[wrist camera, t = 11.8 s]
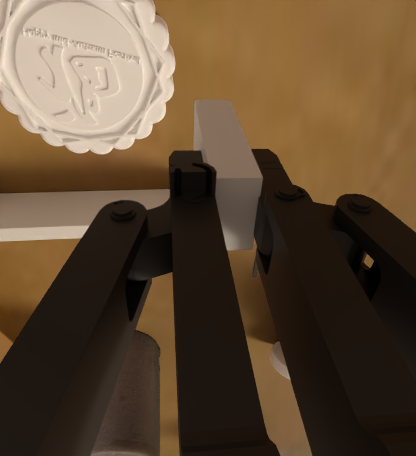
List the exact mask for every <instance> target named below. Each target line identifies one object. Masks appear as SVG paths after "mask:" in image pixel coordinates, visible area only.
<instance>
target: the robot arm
mask: <svg viewBox="0 0 416 456" xmlns="http://www.w3.org/2000/svg"><path fill="white" fill-rule="evenodd" d="M169 185H170V197H169V199H168V200H167V201H166V202H165V203H164V204H162V205H160V206H158V207H156V208H152V209H148V210H147V209H146V208H145V206H144V205H142V204H141V203H139V202H136V201H132V200H118V201H114V202H111V203H109V204H107V205H105V206H104V207H103V208H101V209H100V210H99V212H98V214H97V215H96V217H95V218H94V220H93V221H92V223H91V224H90V226H89V227H88V229H87V230H86V232H85V234H84V235H83V237H82V238H81V240H80V241H79V243H78V244H77V246H76V247H75V249H74V251H73V252H72V254H71V255H70V257H69V258H68V260H67V261H66V263H65V264H64V266H63V267H62V269H61V271H60V272H59V274H58V275H57V277H56V278H55V280H54V281H53V283H52V284H51V286H50V288H49V289H48V291H47V292H46V294H45V295H44V297H43V298H42V300H41V301H40V303H39V305H38V306H37V308H36V309H35V311H34V312H33V314H32V315H31V317H30V318H29V320H28V321H27V323H26V325H25V326H24V328H23V329H22V331H21V332H20V334H19V335H18V337H17V338H16V340H15V342H14V343H13V345H12V346H11V348H10V349H9V351H8V352H7V354H6V355H5V357H4V359H3V360H2V362H1V363H0V456H90V455H91V452H92V449H93V447H94V444H95V441H96V438H97V435H98V433H99V430H100V427H101V424H102V421H103V419H104V416H105V413H106V410H107V407H108V405H109V402H110V399H111V396H112V393H113V390H114V388H115V385H116V382H117V379H118V376H119V374H120V371H121V368H122V365H123V362H124V360H125V357H126V354H127V351H128V348H129V346H130V343H131V340H132V337H133V334H134V331H135V329H136V326H137V323H138V320H139V317H140V315H141V312H142V309H143V306H144V303H145V301H146V298H147V295H148V292H149V289H150V286H151V284H152V278H154V277H157V276H160V275H164V274H167V273H170V272H172V274H173V299H174V325H175V351H176V376H177V402H178V427H179V453H180V456H280V454H279V451H278V449H277V447H276V445H275V444H274V443H273V442H272V441H271V440H270V439H269V437H268V435H267V432H266V428H265V424H264V419H263V415H262V410H261V406H260V401H259V396H258V392H257V387H256V382H255V378H254V373H253V369H252V364H251V359H250V355H249V350H248V345H247V341H246V336H245V332H244V327H243V322H242V318H241V313H240V308H239V304H238V299H237V295H236V290H235V285H234V281H233V276H232V271H231V267H230V262H229V258H228V253H227V250H250V249H252V248H253V241H254V237H255V240H256V244H257V250H256V256H255V262H254V268H253V277H256V275H257V271H258V270H259V273H260V277H261V280H262V283H263V287H264V290H265V294H266V297H267V301H268V304H269V307H270V311H271V314H272V318H273V321H274V325H275V328H276V332H277V335H278V338H279V342H280V345H281V349H282V352H283V356H284V359H285V362H286V366H287V369H288V373H289V376H290V380H291V383H292V387H293V390H294V393H295V397H296V400H297V404H298V407H299V411H300V414H301V417H302V421H303V424H304V428H305V431H306V435H307V438H308V442H309V445H310V448H311V452H312V455H313V456H416V232H414V231H413V230H412V229H411V228H409V227H408V226H407V225H406V224H404V223H403V222H402V221H401V220H399V219H398V218H397V217H396V216H394V215H393V214H392V213H391V212H389V211H388V210H387V209H386V208H384V207H383V206H382V205H381V204H380V203H378V202H377V201H375V200H373V199H372V198H369V197H366V196H365V195H361V194H359V195H358V194H345V195H342V196H340V197H339V198H338V199H337V201H336V205H335V206H332V205H326V204H320V203H316V202H313V201H312V199H311V197H310V195H309V194H308V193H307V192H306V191H305V190H304V189H302V188H301V187H299V186H296V185H292V183H291V181H290V179H289V177H288V175H287V174H286V172H285V170H284V168H283V166H282V164H280V160H279V159H278V157H277V155H276V154H274V153H273V152H272V151H270V150H269V149H251V148H250V146H249V144H248V141H247V139H246V137H245V134H244V132H243V130H242V127H241V125H240V123H239V120H238V118H237V116H236V113H235V111H234V109H233V106H232V104H231V102H230V100H196V99H195V107H194V151H174V152H173V153H172V154H171V155H170V156H169ZM367 254H368V255H369V256H370V257H371V258H372V259H373V260H374V262H373V265H372V267H371V268H369V267H368V266H367V265H366V264H365V263H364V260H365V257H366V255H367Z"/></svg>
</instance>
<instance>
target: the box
mask: <svg viewBox="0 0 416 456" xmlns="http://www.w3.org/2000/svg"><path fill="white" fill-rule="evenodd" d="M169 197H170V189H150V190H113V191H76V192H38V193H1V194H0V241H21V240H45V239H69V238H82V237H83V235H84V234H85V232H86V230H87V229H88V227H89V226H90V224H91V223H92V221H93V220H94V218H95V217H96V215H97V214H98V212H99V210H100V209H101V208H103V207H104V206H105V205H107V204H109V203H111V202H114V201H118V200H132V201H136V202H139V203H141V204H142V205H144V206H145V208H146V209H147V210H148V209H152V208H156V207H158V206H160V205H162V204H164V203H165V202H166V201H167V200H168V199H169Z"/></svg>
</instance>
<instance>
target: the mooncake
mask: <svg viewBox="0 0 416 456" xmlns="http://www.w3.org/2000/svg"><path fill="white" fill-rule="evenodd" d="M174 70H175V58H174V52H173V49H172V47H171V45H170V44H169V34H168V27H167V24H166V22H165V21H164V19H163V18H162V17H160V16H159V15H157V14H155V5H154V2H153V0H0V101H1V103H2V105H3V106H4V107H5V109H7V110H8V111H9V112H11V113H13V114H16V115H18V119H19V122H20V123H21V125H22V126H23V127H24V128H25V129H26V130H28V131H30V132H32V133H40V134H41V136H42V138H43V139H44V140H45V141H46V142H47V143H48V144H50V145H53V146H63V145H65V146H66V147H67V148H68V149H69V150H70V151H72V152H75V153H85V152H87V151H88V150H91V151H92V152H94V153H96V154H106V153H109V152H110V151H111V150H112V149H113V148H116V149H127V148H129V147H130V146H131V145H132V144H133V143H134V140H135V139H142V138H145V137H147V136H148V135H149V134H150V133H151V131H152V127H153V123H157V122H159V121H160V120H162V119H163V117H164V116H165V113H166V102H167V101H168V100H169V99H170V98H171V97H172V95H173V92H174V83H173V76H172V74H173V72H174Z"/></svg>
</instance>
